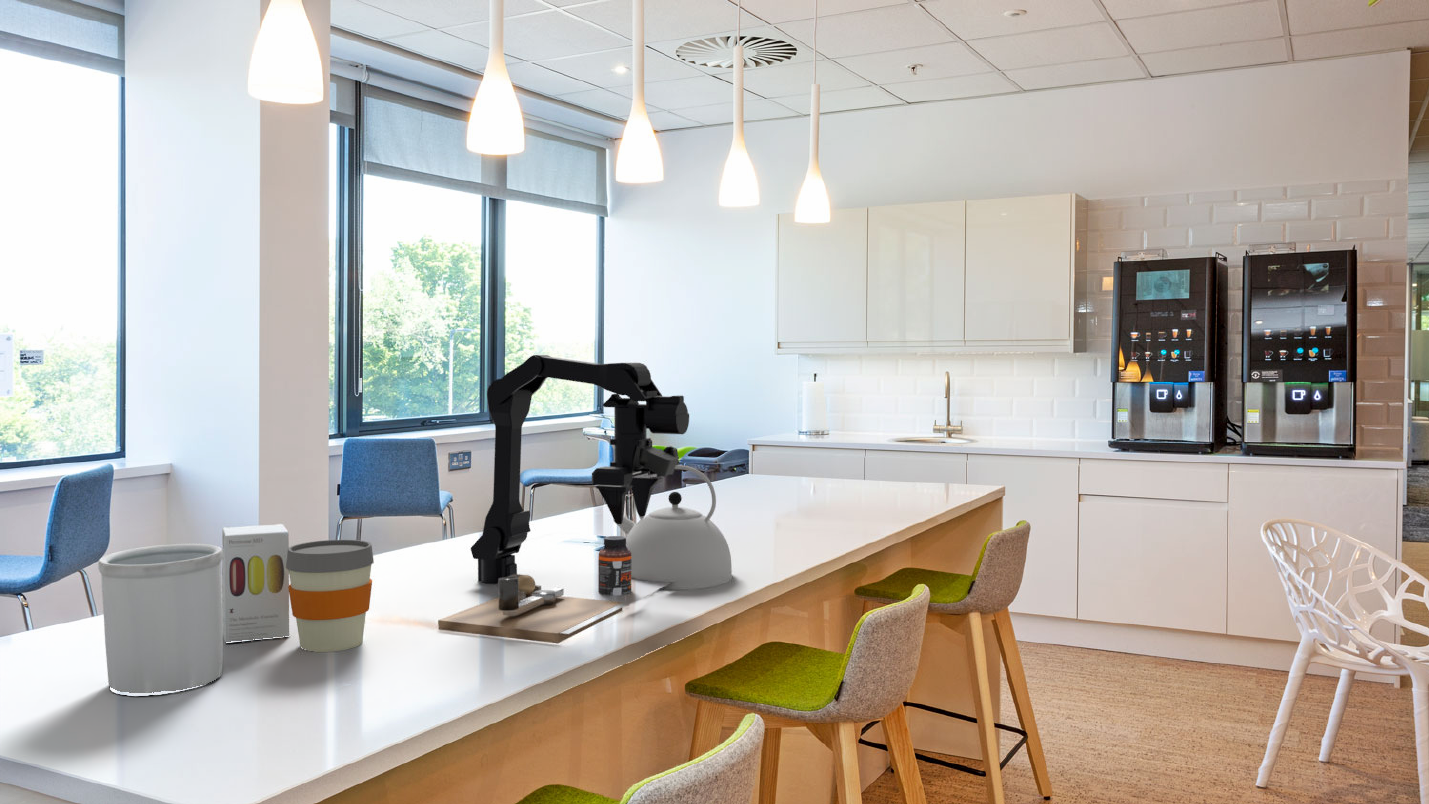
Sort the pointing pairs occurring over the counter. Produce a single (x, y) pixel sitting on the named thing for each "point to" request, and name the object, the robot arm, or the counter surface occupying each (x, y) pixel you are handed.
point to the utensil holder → (162, 617)
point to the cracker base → (529, 618)
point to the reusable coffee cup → (330, 592)
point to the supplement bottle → (614, 567)
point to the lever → (513, 606)
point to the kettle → (678, 545)
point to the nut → (526, 584)
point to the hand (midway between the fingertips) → (630, 520)
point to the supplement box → (255, 582)
